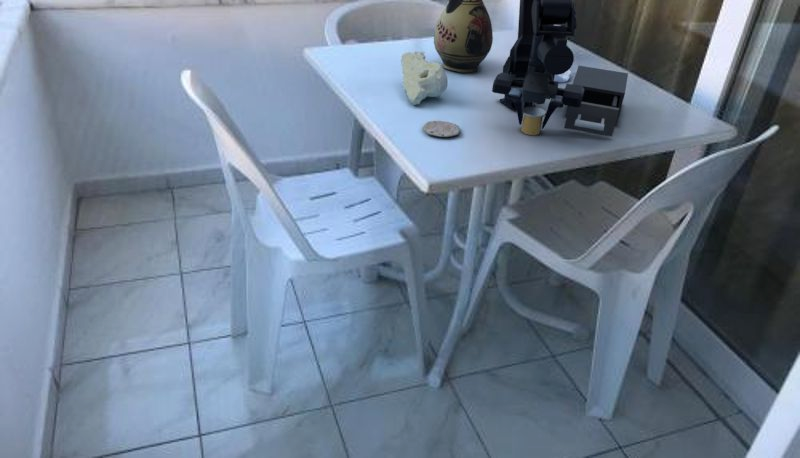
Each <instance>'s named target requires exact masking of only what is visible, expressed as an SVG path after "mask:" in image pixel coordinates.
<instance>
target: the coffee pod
mask: <svg viewBox="0 0 800 458" xmlns="http://www.w3.org/2000/svg"><path fill="white" fill-rule="evenodd" d="M546 112H547V111H546V110H544V108H541V107H537V106H536V107H525V108H523V120H522V124H521V132H522V133H523V134H525V135H529V136H537V135H539V134H540V133H541V130H542V123H543V119H544V118H543V117H545V114H546Z"/></svg>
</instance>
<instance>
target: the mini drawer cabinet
mask: <svg viewBox="0 0 800 458" xmlns="http://www.w3.org/2000/svg"><path fill="white" fill-rule="evenodd" d="M628 76H629V73H628V72H622V71H616V70H611V69H610V70H609V69H604V68H597V67H591V66H584V65H578V67H577V70H576V71H575V75H574V77H573V81H572V83H571V84H572V85H578V86H583V88H584V89H585V90H589V91H595V92H601V93H607V94H613V95H618V99H617V104H616V108H619V112H618V116H617V120H616V124H615V127H617V126H618V122H619V117H620V113H621V111H622V106H623V103H624V99H625V95H626V90H627V89H626V88H627V83H628ZM568 107H569V106H566V113H565V116H564V117H565V118H566V116H567V112H568Z"/></svg>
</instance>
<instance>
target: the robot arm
mask: <svg viewBox="0 0 800 458" xmlns="http://www.w3.org/2000/svg"><path fill="white" fill-rule="evenodd" d="M518 9H519V10H518V25H517V29H518V30H517V39H516V41H515V42H514V44H513V45H512V46H511V48H510V50H509V56H508V57H507V58H506V61H505V63H504V65H503V66H502V72H499V73H498V74H497V75H496V77H495V78H494V80H493V83H492V88H491V92H492V93H494V94H499V95H504V97H503V98H500V99H499V102H500V103H501V104H503V105H504V106H506V107H507V108H509V109H511V110H513V111H514V112H516V115H517V120H518V124H519V126H522V125H523V119H524V113H523V108H525V107H537V105H541V106H542V105H544V104H545V103H546V100H549V103H548V106H547V109H546V111H545V112H546V114H545V116H543V117H544V118H543V119H542V123H541V130H544V129H545V127H546V125H547V124H548V122H549V120H550V118H551V116H553V114H554V112H555V111H556V110H557V109H561V108H564V106H566V107H567V106H572V107H580V106H581V102H582V99H583V95H584V90H585V89H584V88H583V86H578V85H572V83H566V84H565V87H564V88H563V87H559V82H557V81H554V77H555V75H559V74H563V73H565V72H566V71H568V70H570V69H571V68H572V66H573V64H574V61H575V58H574V52H573V50H572V49H571V48H570V46H569V45H568V39H567V37H575V30H576V28H577V12H576V7H575V1H574V0H519V8H518ZM566 24H567V25H566ZM554 25H558V26H554Z"/></svg>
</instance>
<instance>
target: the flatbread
mask: <svg viewBox="0 0 800 458" xmlns="http://www.w3.org/2000/svg"><path fill="white" fill-rule="evenodd" d="M422 129H423V131H424V132H425V133H426V134H427V135H429V136H435V137H441V138H450V137H455V136H458V135H459V134H460V127H459V126H458V124H456V123H453V122H449V121H445V120H444V121H443V120H430V121H427V122H426V123H425V124H423V127H422Z"/></svg>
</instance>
